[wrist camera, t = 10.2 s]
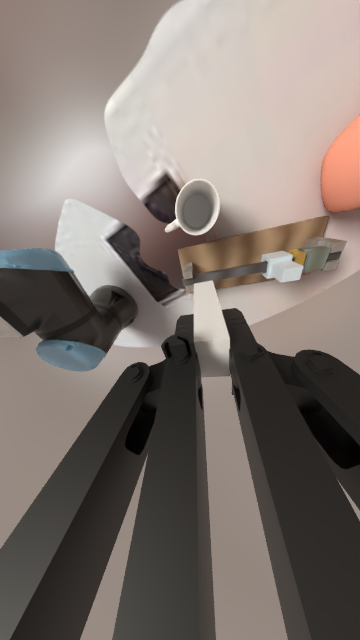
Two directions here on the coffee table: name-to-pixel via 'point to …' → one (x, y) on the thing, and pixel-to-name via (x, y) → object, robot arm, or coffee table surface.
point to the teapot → (342, 171)
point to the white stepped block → (281, 267)
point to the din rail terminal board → (259, 254)
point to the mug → (196, 207)
